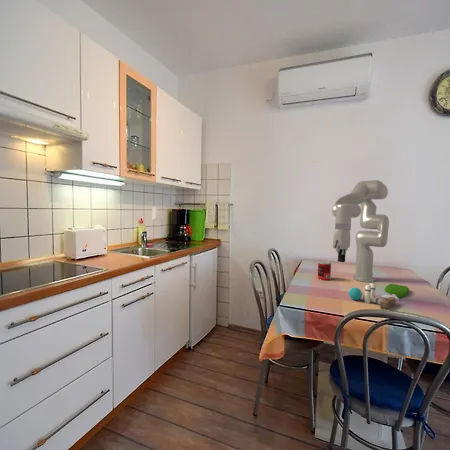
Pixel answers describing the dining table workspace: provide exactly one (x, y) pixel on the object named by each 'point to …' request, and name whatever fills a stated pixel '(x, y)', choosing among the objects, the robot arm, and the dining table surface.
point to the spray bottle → (396, 291)
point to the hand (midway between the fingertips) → (341, 261)
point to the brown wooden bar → (387, 303)
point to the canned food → (324, 270)
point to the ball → (355, 293)
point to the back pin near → (367, 293)
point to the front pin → (374, 300)
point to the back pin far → (373, 289)
